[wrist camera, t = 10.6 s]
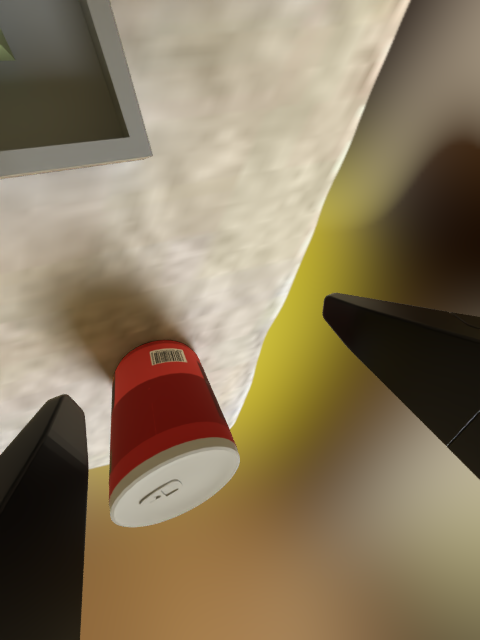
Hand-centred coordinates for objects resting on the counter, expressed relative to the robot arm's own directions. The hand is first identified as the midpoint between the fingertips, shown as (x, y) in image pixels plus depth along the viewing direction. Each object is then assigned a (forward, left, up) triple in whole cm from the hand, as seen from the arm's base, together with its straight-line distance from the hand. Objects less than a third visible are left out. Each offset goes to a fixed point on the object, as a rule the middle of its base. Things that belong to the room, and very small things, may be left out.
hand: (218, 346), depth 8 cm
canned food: (-4, -11, -12) cm, 17 cm away
